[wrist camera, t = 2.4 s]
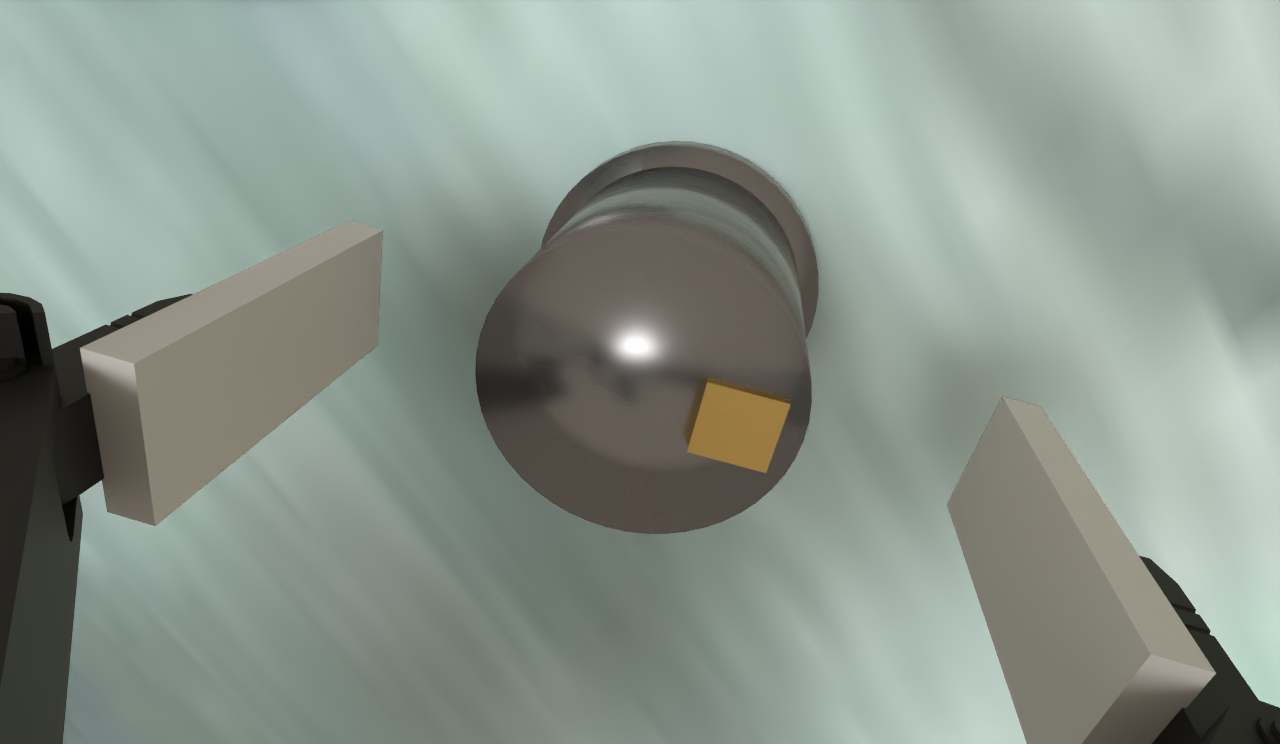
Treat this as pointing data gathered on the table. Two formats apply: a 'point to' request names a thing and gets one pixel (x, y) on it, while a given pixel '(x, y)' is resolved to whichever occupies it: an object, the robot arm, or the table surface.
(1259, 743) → the robot arm
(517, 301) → the cover
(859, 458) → the table surface
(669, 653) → the table surface
